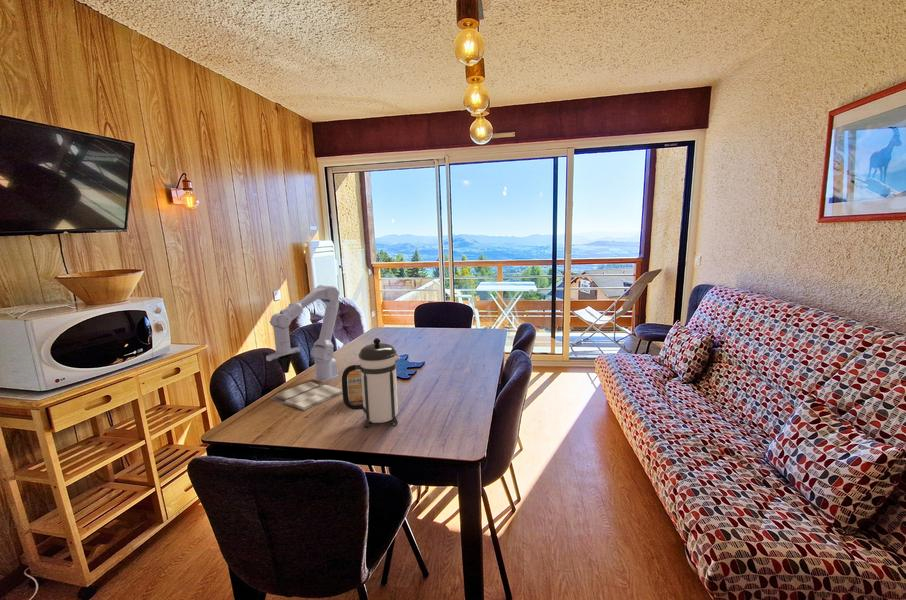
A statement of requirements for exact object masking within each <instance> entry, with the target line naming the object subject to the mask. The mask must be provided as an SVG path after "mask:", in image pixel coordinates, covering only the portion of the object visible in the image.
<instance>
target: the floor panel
mask: <svg viewBox="0 0 906 600" xmlns="http://www.w3.org/2000/svg"><path fill="white" fill-rule="evenodd" d="M319 385H320V384H319ZM341 395H343V392H342V388H338V387H335V386H332V385H327V384H323V385H322V384H321V385H320V387H318V388H315V389H313V390H310V391H308V392H305V393H303V394H300V395H298V396H295V397H293V398H290V399H288V400H286V401H285V400H283V399H281V398H278V397H276V396H274V397H272V398H270V400H271V401H275V402H278V403H281V404H283V405H285V406H288V407H292V408H293V409H297V410H299V411H301V412H305V411H307V410H309V409H310V410H311V409H312V408H314V407H315V406H318V405H320V404H323V403H325V402H328V401H329V400H332V399H333V398H336V397H338V396H341Z"/></svg>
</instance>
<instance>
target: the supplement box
mask: <svg viewBox="0 0 906 600" xmlns="http://www.w3.org/2000/svg"><path fill="white" fill-rule="evenodd" d="M347 385H348V398H349V401H350V402H351V403H352V402H358V401H363V396H362V381H361V371H360V369H359V370H354V371H351V372H349V374H348V375H347Z"/></svg>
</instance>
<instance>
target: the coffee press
mask: <svg viewBox="0 0 906 600" xmlns="http://www.w3.org/2000/svg"><path fill="white" fill-rule="evenodd" d="M358 358H359V364H353V365H348V366H347V367H345V368H344V371H343V372H342V376H341V389H342V392H343V394H342V399H343V401H342V402H343V403H344V405H345V407H347V409H349V410H353V411H356V410H357V411H359V410H362V411H363V417H364V419H365V422H364V425H363V428H365V429H369V428H370V427H371V426H372V424H381V423H386V422H390V423H391V424H392V426H396V425H398V423H399V421H398V420H397V416H398V414H399V402H398V386H397V384H398V383H397V382H398V381H397V360H401V356H400V354H398V353H397V350H396V349H395V348H394V346H392V345H391V344H389V343H383V342H381V339H380V338H376V337H375V338H374V340H373V343H371V344H367V345H365V346H364V347H362V348H361V349H360V351H359V353H358ZM359 369H360V371H361V381H362V396H363V400H362V403H359V404H354V403H352V402H350V401H349V395H348V378H347V375H348V374H349V372H351V371H354V370H359Z"/></svg>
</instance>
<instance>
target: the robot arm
mask: <svg viewBox="0 0 906 600" xmlns="http://www.w3.org/2000/svg"><path fill="white" fill-rule="evenodd" d="M337 288H338V287H336V286H334V285H321V284H320V285H317V286H316V287H315V288H313V289H312V291H310V292H309V293H308V294H307V295H305V296H304V297H303V298H302V299H300V300H299V301H298V302H290V303H289V304H288V306H286V307H284V309H281V310H280V311H279V312H277V313H273V315H271V318H270V320H269V324H270V325H271V327H272V329H273V335H274V337H273V338H274V344H275V352H273V353H271V354H269V355H266V356H265V360H266V361H267V362H271V361H273V360H276V362H277V363H278V364H279V366H280V369H281V371H282V374H283V373H284V374H287V373H289V371H290V366H291V362H292V360H293V359H294V356H293V355H292V354H295V353H296V354H297V353H300V352H301V347H299V346H296V347H291V338H290V330H289V329H290V328H289V326H290V325H291V323H292V321H294V319H296V318H297V317H299V316H300V315H301V314H303V311H304V309H305V308H306V307H308V306H309V305H311V304H313V303H315V302H316V301H317V300H320V301H321V302H322V303H324V305H325V310H324V315H323V320H322V325H321V327H320V332H319V336H318V339H317V340H316V341H315V342H314V343H313V347H312V348H311V350H310V356H311V357H312V358H313V361H314V369H315V370H314V371H315V377H313V378H311V379H312V380H314V381H317V382H321V383H324V382H327V381H329V380H332V379H334V378H337V377H339V376H340V375H339V373H338V363H337V360H336V359H335V358H334V355H335V352H334V348H335V346H334V344H333V342H332V338H333V334H334V328H335V325H336V320H337V316H338V315H337V314H338V311H339V307H340V300H339V295H340V291H339V290H338V289H337Z"/></svg>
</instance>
